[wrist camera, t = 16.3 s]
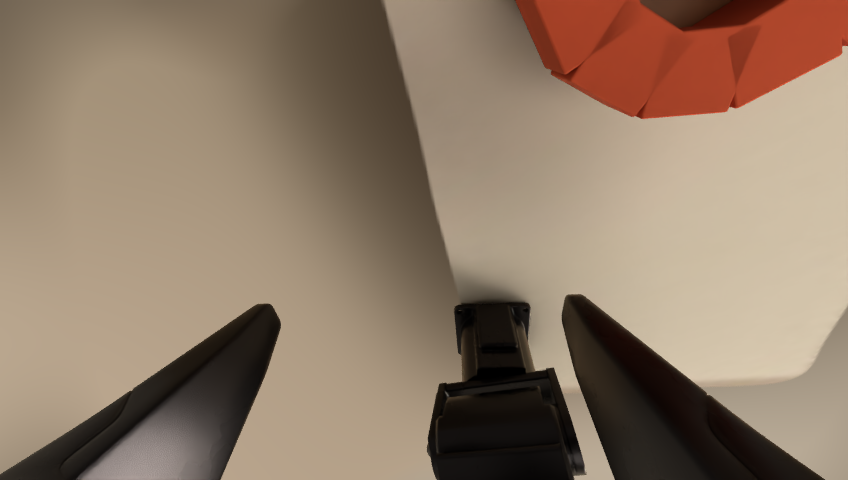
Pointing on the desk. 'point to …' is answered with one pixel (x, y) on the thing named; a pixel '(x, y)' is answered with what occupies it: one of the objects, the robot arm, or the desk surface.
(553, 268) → the desk surface
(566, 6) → the orange faceted ring
